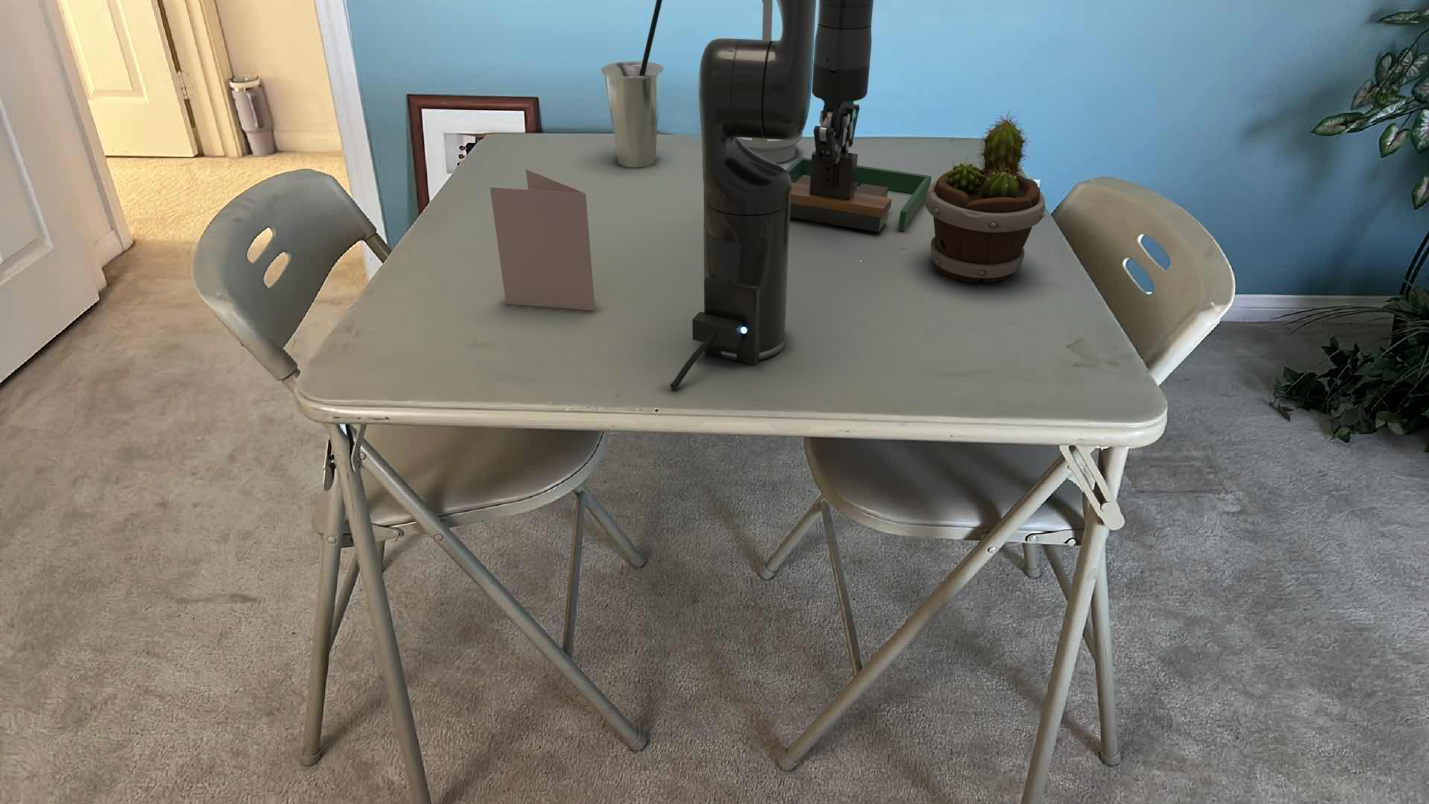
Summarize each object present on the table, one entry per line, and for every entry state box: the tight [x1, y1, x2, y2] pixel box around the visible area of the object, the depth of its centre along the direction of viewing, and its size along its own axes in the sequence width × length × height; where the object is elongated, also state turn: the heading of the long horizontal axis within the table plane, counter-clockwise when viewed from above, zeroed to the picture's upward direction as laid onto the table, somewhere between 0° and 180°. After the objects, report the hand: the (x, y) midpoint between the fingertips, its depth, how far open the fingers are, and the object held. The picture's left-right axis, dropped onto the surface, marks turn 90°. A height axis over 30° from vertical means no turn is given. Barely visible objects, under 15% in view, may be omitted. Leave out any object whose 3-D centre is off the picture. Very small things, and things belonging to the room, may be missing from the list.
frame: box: [785, 156, 932, 232], centre depth 143 cm, size 16×22×3 cm
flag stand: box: [738, 0, 803, 164], centre depth 155 cm, size 13×13×30 cm
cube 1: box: [855, 184, 889, 198], centre depth 138 cm, size 4×4×4 cm
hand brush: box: [790, 149, 893, 233], centre depth 135 cm, size 5×17×10 cm, turn 66°
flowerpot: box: [925, 109, 1046, 284], centre depth 119 cm, size 14×15×20 cm
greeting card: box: [489, 168, 596, 312], centre depth 112 cm, size 11×7×15 cm, turn 45°
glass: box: [600, 0, 665, 169], centre depth 152 cm, size 11×11×30 cm
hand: (832, 183), depth 135 cm, fingers closed on hand brush, 2 cm apart
